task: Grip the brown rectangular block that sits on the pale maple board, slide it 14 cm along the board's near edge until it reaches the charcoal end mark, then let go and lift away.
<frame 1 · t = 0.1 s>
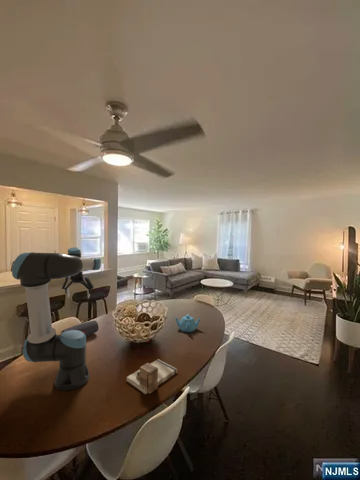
hand: (78, 297, 157), 28 cm above the table, tool tilted 20°, fingers open, 13 cm apart
pliers: (148, 337, 161), on the table
board: (152, 376, 116), on the table
teapot: (187, 329, 176), on the table
bluetooth speaker: (80, 339, 155), on the table
brown rectangular block: (147, 383, 107), point 2 cm above the table, touching board
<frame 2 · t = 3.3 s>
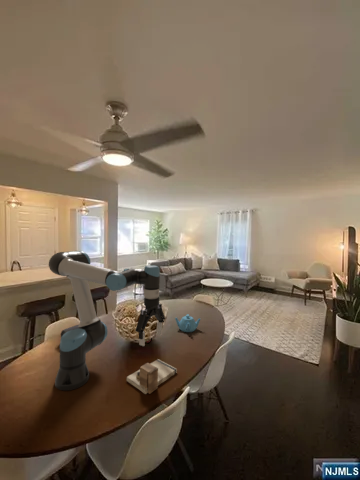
hand: (151, 339, 112), 21 cm above the table, tool pointing down, fingers open, 13 cm apart
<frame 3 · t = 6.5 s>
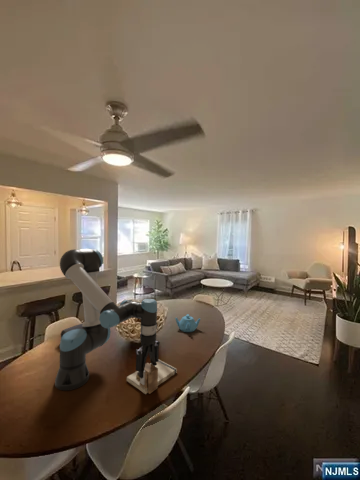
hand: (147, 380, 107), 3 cm above the table, tool pointing down, fingers closed on brown rectangular block, 5 cm apart
brown rectangular block: (147, 383, 107), point 2 cm above the table, touching board, gripper
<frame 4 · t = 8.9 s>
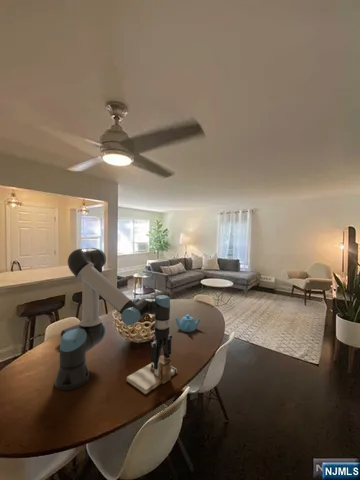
hand: (160, 371, 114), 3 cm above the table, tool pointing down, fingers closed on brown rectangular block, 5 cm apart
brown rectangular block: (160, 374, 114), point 2 cm above the table, touching gripper
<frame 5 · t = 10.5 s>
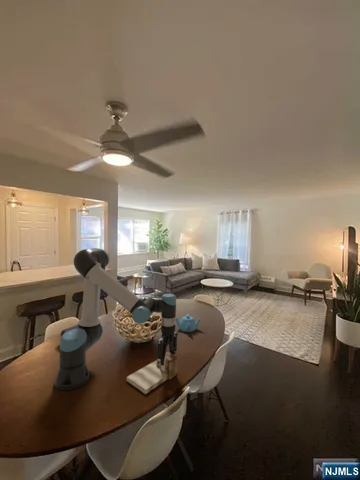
hand: (166, 368, 118), 3 cm above the table, tool pointing down, fingers closed on brown rectangular block, 5 cm apart
brown rectangular block: (166, 370, 118), point 2 cm above the table, touching board, gripper
when the fingers open (3 cm above the table, at t = 11.2 s): brown rectangular block stays where it is, resting on board.
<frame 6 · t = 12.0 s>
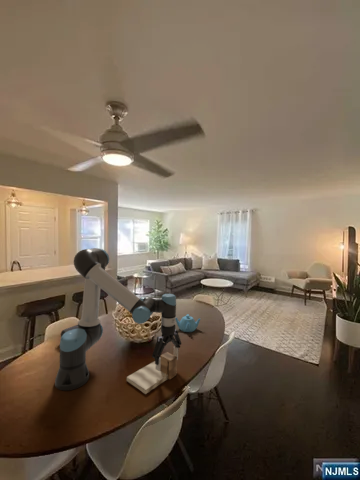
hand: (167, 364, 118), 5 cm above the table, tool pointing down, fingers open, 13 cm apart
brown rectangular block: (166, 370, 118), point 2 cm above the table, touching board
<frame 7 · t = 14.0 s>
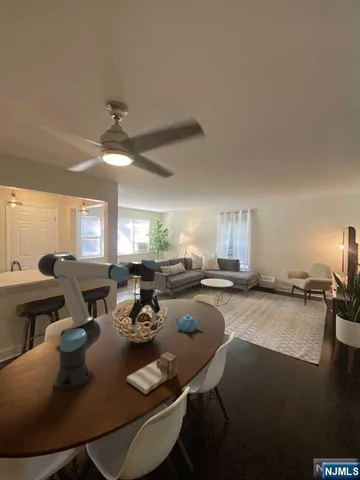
hand: (144, 327, 121), 23 cm above the table, tool pointing down, fingers open, 13 cm apart
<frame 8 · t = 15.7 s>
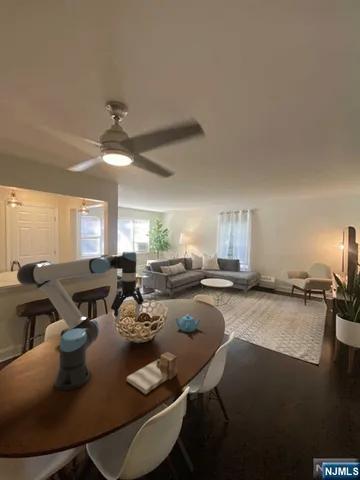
hand: (127, 318, 123), 27 cm above the table, tool pointing down, fingers open, 13 cm apart
at the end: brown rectangular block 0.1 cm from the target spot, point 2.0 cm above the table; brown rectangular block tilted 0°; the gripper is holding nothing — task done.
